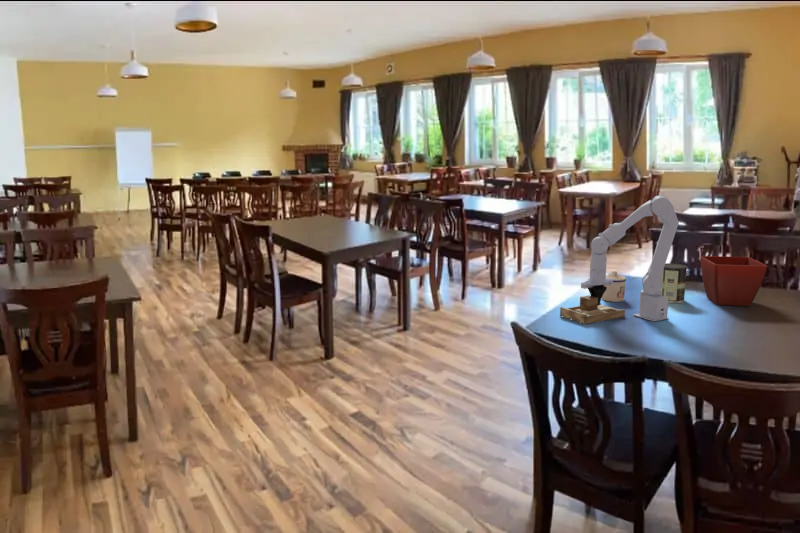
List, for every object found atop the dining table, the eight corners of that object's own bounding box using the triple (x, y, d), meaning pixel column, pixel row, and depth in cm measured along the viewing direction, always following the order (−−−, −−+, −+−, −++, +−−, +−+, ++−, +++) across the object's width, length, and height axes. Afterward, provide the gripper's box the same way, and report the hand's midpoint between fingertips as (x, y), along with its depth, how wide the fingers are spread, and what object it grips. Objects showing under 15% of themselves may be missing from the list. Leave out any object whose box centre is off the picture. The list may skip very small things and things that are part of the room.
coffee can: (678, 296, 285) (681, 263, 282) (688, 303, 275) (691, 268, 272) (653, 296, 285) (655, 263, 283) (662, 303, 275) (664, 268, 272)
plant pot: (744, 296, 285) (748, 256, 282) (763, 308, 267) (768, 265, 263) (696, 295, 287) (699, 255, 284) (711, 307, 268) (715, 264, 265)
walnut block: (597, 309, 258) (598, 297, 257) (588, 311, 255) (589, 299, 254) (588, 307, 261) (589, 295, 261) (579, 308, 259) (580, 296, 258)
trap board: (624, 316, 256) (625, 307, 255) (584, 324, 246) (585, 315, 245) (599, 309, 266) (599, 300, 265) (560, 316, 256) (560, 307, 255)
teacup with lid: (620, 303, 275) (622, 274, 272) (598, 300, 280) (599, 271, 277) (629, 297, 285) (631, 269, 282) (607, 294, 290) (609, 266, 287)
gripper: (603, 265, 264) (601, 300, 267) (575, 269, 257) (573, 305, 260) (618, 268, 258) (616, 304, 261) (589, 273, 251) (587, 309, 254)
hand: (595, 305), depth 260 cm, fingers closed
